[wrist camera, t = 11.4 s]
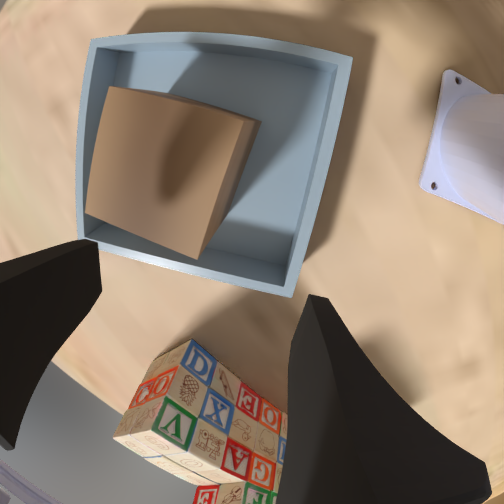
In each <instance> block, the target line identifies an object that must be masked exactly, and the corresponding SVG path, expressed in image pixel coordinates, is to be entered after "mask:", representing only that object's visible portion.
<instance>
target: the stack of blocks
mask: <svg viewBox="0 0 504 504" xmlns="http://www.w3.org/2000/svg"><path fill="white" fill-rule="evenodd" d="M287 420H288V415H287V414H285V413H284V412H282V411H280V410H279V409H277V408H276V407H274V406H273V405H272V404H270V403H269V402H268V401H266V400H265V399H264V398H261V397H260V396H259V395H258V394H257V393H255V392H254V391H253V390H252V389H250V388H249V387H248V386H246V385H245V384H244V383H243V382H241V380H240V379H239V378H237V377H236V376H235V375H234V374H232V373H231V372H230V371H229V370H228V369H226V368H225V367H224V366H223V365H222V364H221V363H219V362H218V361H217V360H216V359H215V358H214V357H212V356H211V355H210V354H209V353H208V352H207V351H205V350H204V349H203V348H202V347H201V346H200V345H198V344H197V343H196V342H195V341H194V340H193V339H191V340H189V341H187V342H185V343H184V344H182V345H180V346H179V347H177V348H175V349H173V350H172V351H170V352H167V353H166V354H164V355H162V356H160V357H159V358H157V359H156V360H154V361H153V362H152V363H151V365H150V367H149V368H148V370H147V372H146V374H145V377H144V379H143V381H142V383H141V384H140V385H139V387H138V389H137V391H136V393H135V395H134V397H133V399H132V401H131V403H130V405H129V408H128V410H127V411H126V412H125V414H124V416H123V418H122V420H121V422H120V424H119V426H118V428H117V430H116V431H115V434H114V436H113V439H115V440H116V441H118V442H119V443H121V444H122V445H124V446H125V447H127V448H129V449H130V450H132V451H133V452H135V453H136V454H138V455H140V456H143V458H144V459H146V460H147V461H149V462H151V463H153V464H155V465H157V466H158V467H160V468H162V469H164V470H166V471H168V472H170V473H172V474H173V475H175V476H177V477H179V478H181V479H183V480H185V481H188V482H190V483H192V484H196V485H198V487H197V489H196V494H195V498H194V501H193V504H275V503H276V498H277V493H278V488H279V483H280V478H281V472H282V467H283V460H284V454H285V447H286V440H287Z"/></svg>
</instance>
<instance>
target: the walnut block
mask: <svg viewBox="0 0 504 504" xmlns="http://www.w3.org/2000/svg"><path fill="white" fill-rule="evenodd" d="M261 123H262V121H259V120H256V119H254V118H251V117H248V116H245V115H242V114H239V113H236V112H233V111H230V110H227V109H223V108H220V107H217V106H214V105H210V104H207V103H203V102H200V101H196V100H193V99H189V98H185V97H182V96H178V95H174V94H170V93H165V92H158V91H151V90H143V89H135V88H125V87H115V86H109V89H108V92H107V96H106V100H105V103H104V107H103V111H102V115H101V119H100V124H99V128H98V133H97V137H96V142H95V147H94V153H93V158H92V164H91V170H90V177H89V184H88V191H87V199H86V208H85V213H86V214H89V215H91V216H93V217H96V218H98V219H100V220H103V221H105V222H107V223H110V224H112V225H114V226H117V227H119V228H121V229H124V230H126V231H128V232H131V233H133V234H135V235H138V236H140V237H143V238H145V239H147V240H150V241H152V242H155V243H157V244H159V245H162V246H164V247H167V248H169V249H172V250H174V251H176V252H179V253H181V254H184V255H186V256H189V257H191V258H194V259H196V260H197V259H198V258H199V256H200V255H201V253H202V252H203V250H204V249H205V247H206V246H207V244H208V243H209V241H210V240H211V238H212V237H213V235H214V234H215V232H216V231H217V229H218V228H219V226H220V225H221V223H222V222H223V220H224V219H225V218H226V216H227V215H228V212H229V209H230V206H231V204H232V201H233V198H234V195H235V192H236V190H237V187H238V184H239V181H240V179H241V176H242V173H243V170H244V168H245V165H246V162H247V160H248V157H249V154H250V152H251V149H252V146H253V144H254V141H255V138H256V136H257V133H258V131H259V128H260V125H261Z"/></svg>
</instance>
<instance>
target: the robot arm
mask: <svg viewBox="0 0 504 504" xmlns="http://www.w3.org/2000/svg"><path fill="white" fill-rule="evenodd" d="M455 78H457V79H458V81H459V84H457V83H456V81H455ZM433 182H435V187H434V188H433V189H432V188H431V184H432V183H433ZM419 186H420V188H421V189H423V190H424V191H426V192H429V193H431V194H434V195H437V196H439V197H442V198H444V199H447V200H449V201H452V202H454V203H456V204H459V205H461V206H464V207H466V208H468V209H471V210H473V211H475V212H477V213H480V214H482V215H484V216H486V217H488V218H490V219H493V220H495V221H497V222H499V223H501V224H503V225H504V94H491V93H490V92H488V91H487V90H485V89H484V88H482V87H481V86H479V85H477V84H476V83H474V82H472V81H471V80H469V79H467V78H466V77H464V76H462V75H460V74H459V73H457V72H455V71H453V70H450V69H449V70H445V71H444V72H443V76H442V83H441V89H440V95H439V100H438V106H437V111H436V116H435V120H434V125H433V129H432V134H431V138H430V142H429V146H428V150H427V154H426V158H425V161H424V165H423V168H422V172H421V175H420V179H419ZM101 292H102V284H101V274H100V263H99V249H98V242H95V241H91V240H88V239H80V240H75V241H71V242H67V243H64V244H60V245H57V246H54V247H51V248H47V249H44V250H41V251H38V252H35V253H32V254H29V255H25V256H22V257H19V258H16V259H12V260H9V261H6V262H2V263H0V445H1V446H2V447H3V448H4V449H5V450H13V449H14V448H15V443H16V439H17V436H18V432H19V429H20V425H21V422H22V419H23V416H24V413H25V411H26V408H27V406H28V403H29V401H30V398H31V396H32V394H33V392H34V390H35V388H36V386H37V384H38V382H39V380H40V378H41V376H42V374H43V373H44V371H45V369H46V368H47V365H48V364H49V362H50V361H51V359H52V358H53V357H54V355H55V354H56V352H57V351H58V350H59V349H60V347H61V346H62V345H63V344H64V342H65V341H66V340H67V339H68V337H69V336H70V335H71V334H72V332H73V331H74V330H75V329H76V328H77V326H78V325H79V324H80V323H81V321H82V320H83V319H84V318H85V317H86V315H87V314H88V313H89V312H90V310H91V308H92V307H93V305H94V304H95V302H96V301H97V299H98V297H99V296H100V294H101ZM0 484H2V485H3V486H4V487H5V488H6V489H8V490H9V491H10V492H11V493H13V494H14V495H15V496H16V497H18V498H19V499H20V500H22V501H23V502H24V503H26V504H63V503H61V502H59V501H58V500H56V499H55V498H53V497H51V496H50V495H48V494H47V493H45V492H44V491H42V490H41V489H39V488H38V487H36V486H35V485H33V484H32V483H31V482H29V481H28V480H26V479H25V478H23V477H22V476H21V475H20V474H18V473H17V472H16V471H14V470H13V469H12V468H11V467H10V466H8V465H7V464H6V463H4V462H3V461H2V460H1V459H0ZM491 494H492V490H491V485H490V481H489V476H488V472H487V468H486V464H485V462H483V461H482V460H480V459H478V458H477V457H475V456H474V455H472V454H470V453H469V452H467V451H465V450H464V449H462V448H461V447H459V446H458V445H456V444H455V443H453V442H452V441H450V440H449V439H448V438H447V437H445V436H444V435H443V434H441V433H440V432H439V431H437V430H436V429H435V428H434V427H432V426H431V425H430V424H429V423H428V422H426V421H425V420H424V419H423V418H422V417H421V416H420V415H419V414H418V413H417V412H416V411H414V410H413V409H412V408H411V407H410V406H409V405H408V404H407V403H406V402H405V401H404V400H403V399H402V398H401V397H400V396H399V395H398V394H397V393H396V392H395V390H394V389H393V388H392V387H391V386H390V385H389V384H388V383H387V381H386V380H385V379H384V378H383V377H382V376H381V374H380V373H379V372H378V371H377V370H376V368H375V367H374V366H373V364H372V363H371V362H370V360H369V359H368V358H367V356H366V355H365V354H364V352H363V351H362V349H361V348H360V347H359V345H358V344H357V342H356V341H355V339H354V338H353V336H352V335H351V333H350V332H349V330H348V329H347V327H346V326H345V324H344V323H343V321H342V319H341V318H340V316H339V315H338V313H337V312H336V310H335V308H334V307H333V305H332V304H331V302H330V301H329V299H328V298H325V297H320V296H315V295H311V294H309V295H308V298H307V301H306V304H305V307H304V309H303V312H302V315H301V318H300V321H299V323H298V326H297V329H296V331H295V334H294V337H293V339H292V342H291V350H290V357H289V365H288V420H287V440H286V447H285V454H284V460H283V467H282V472H281V478H280V483H279V488H278V493H277V498H276V503H275V504H482V503H483V502H484V501H486V500H487V499H488V498H489V497H490V496H491ZM9 501H10V496H9V495H8V494H7V493H6V491H5V490H4V489H3V488H2V487H0V504H8V503H9Z"/></svg>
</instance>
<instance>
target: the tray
mask: <svg viewBox="0 0 504 504" xmlns="http://www.w3.org/2000/svg"><path fill="white" fill-rule="evenodd" d="M352 61H353V57H350V56H346V55H343V54H339V53H336V52H332V51H328V50H324V49H320V48H316V47H311V46H307V45H302V44H297V43H292V42H287V41H281V40H275V39H269V38H262V37H254V36H246V35H236V34H224V33H207V32H156V33H139V34H127V35H118V36H110V37H102V38H96V39H91V42H90V46H89V51H88V56H87V61H86V66H85V72H84V78H83V85H82V92H81V100H80V108H79V118H78V130H77V145H76V217H77V233H78V240H80V239H88V240H91V241H95V242H98V249H99V250H102V251H106V252H109V253H113V254H116V255H120V256H124V257H127V258H131V259H135V260H138V261H142V262H146V263H149V264H153V265H157V266H161V267H164V268H168V269H172V270H176V271H180V272H184V273H188V274H192V275H196V276H200V277H204V278H208V279H212V280H216V281H220V282H224V283H228V284H232V285H237V286H241V287H245V288H249V289H254V290H258V291H262V292H267V293H271V294H276V295H280V296H285V297H289V298H292V296H293V292H294V289H295V286H296V283H297V280H298V276H299V273H300V270H301V266H302V263H303V260H304V256H305V253H306V250H307V246H308V243H309V239H310V236H311V232H312V229H313V225H314V222H315V218H316V214H317V211H318V207H319V203H320V200H321V196H322V192H323V188H324V184H325V181H326V177H327V173H328V169H329V165H330V161H331V157H332V153H333V149H334V144H335V140H336V136H337V132H338V127H339V123H340V119H341V114H342V110H343V105H344V100H345V96H346V91H347V86H348V81H349V76H350V71H351V66H352ZM109 86H115V87H125V88H135V89H143V90H151V91H158V92H165V93H170V94H174V95H178V96H182V97H185V98H189V99H193V100H196V101H200V102H203V103H207V104H210V105H214V106H217V107H220V108H223V109H227V110H230V111H233V112H236V113H239V114H242V115H245V116H248V117H251V118H254V119H256V120H259V121H262V123H261V125H260V128H259V131H258V133H257V136H256V138H255V141H254V144H253V146H252V149H251V152H250V154H249V157H248V160H247V162H246V165H245V168H244V170H243V173H242V176H241V179H240V181H239V184H238V187H237V190H236V192H235V195H234V198H233V201H232V204H231V206H230V209H229V212H228V215H227V216H226V218H225V219H224V220H223V222H222V223H221V225H220V226H219V228H218V229H217V231H216V232H215V234H214V235H213V237H212V238H211V240H210V241H209V243H208V244H207V246H206V247H205V249H204V250H203V252H202V253H201V255H200V256H199V258H198V259H197V260H196V259H194V258H191V257H189V256H186V255H184V254H181V253H179V252H176V251H174V250H172V249H169V248H167V247H164V246H162V245H159V244H157V243H155V242H152V241H150V240H147V239H145V238H143V237H140V236H138V235H135V234H133V233H131V232H128V231H126V230H124V229H121V228H119V227H117V226H114V225H112V224H110V223H107V222H105V221H103V220H100V219H98V218H96V217H93V216H91V215H89V214H86V213H85V208H86V199H87V191H88V184H89V177H90V170H91V164H92V158H93V153H94V147H95V142H96V137H97V133H98V128H99V124H100V119H101V115H102V111H103V107H104V103H105V100H106V96H107V92H108V89H109Z"/></svg>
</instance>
